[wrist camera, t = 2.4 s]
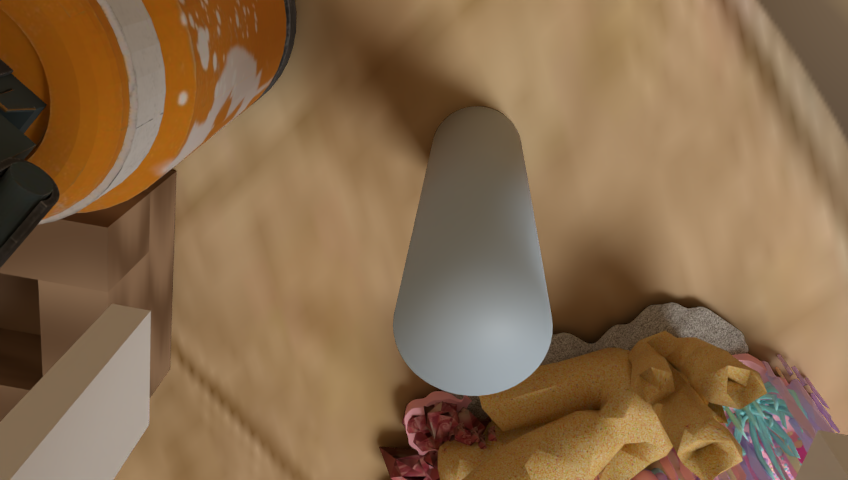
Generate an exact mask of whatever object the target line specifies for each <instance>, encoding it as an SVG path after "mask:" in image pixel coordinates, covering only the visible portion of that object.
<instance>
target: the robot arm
mask: <svg viewBox="0 0 848 480" xmlns="http://www.w3.org/2000/svg"><path fill="white" fill-rule="evenodd" d="M150 334H151V311H150V310H144V309H138V308H133V307H127V306H122V305H116V304H111V305H110V306H109V307H108V308H107V310H106V311H105V312H104V313H103V314H102V315H101V316H100V317H99V318H98V319H97V320H96V321H95V322H94V323H93V324H92V325H91V326H90V328H89V329H88V330H87V331H86V332H85V333H84V334H83V335H82V336H81V337H80V338H79V339H78V340H77V341H76V342H75V343H74V344H73V345H72V347H71V348H70V349H69V350H68V351H67V352H66V353H65V354H64V355H63V356H62V357H61V358H60V359H59V360H58V361H57V362H56V363H55V364H54V366H53V367H52V368H51V369H50V370H49V371H48V372H47V373H46V374H45V375H44V376H43V377H42V378H41V379H40V380H39V381H38V382H37V384H36V385H35V386H34V387H33V388H32V389H31V390H30V391H29V392H28V393H27V394H26V395H25V396H24V397H23V398H22V399H21V400H20V401H19V403H18V404H17V405H16V406H15V407H14V408H13V409H12V410H11V411H10V412H9V413H8V414H7V415H6V416H5V417H4V418H3V419H2V421H1V422H0V480H113V479H114V478H115V476H116V475H117V473H118V472H119V470H120V469H121V467H122V465H123V464H124V462H125V461H126V459H127V458H128V456H129V455H130V453H131V452H132V450H133V449H134V447H135V446H136V444H137V442H138V441H139V439H140V438H141V436H142V435H143V433H144V432H145V430H146V429H147V427H148V426H149V400H150ZM795 480H848V435H844V434H838V433H833V432H827V431H822V430H818V431H817V433H816V435H815V438H814V440H813V442H812V444H811V446H810V448H809V450H808V453H807V455H806V457H805V459H804V461H803V463H802V465H801V468H800V470H799V472H798V474H797V476H796V478H795Z"/></svg>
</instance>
